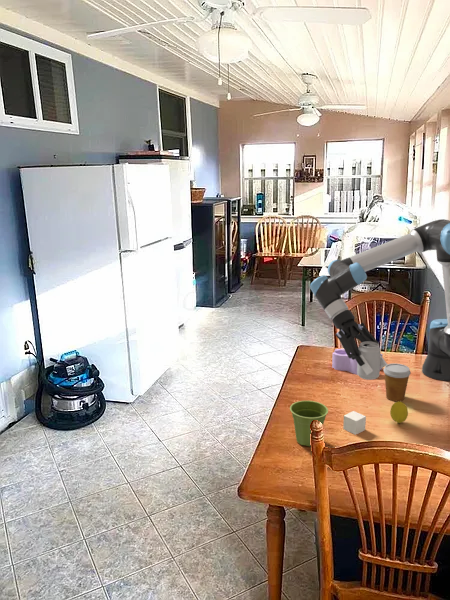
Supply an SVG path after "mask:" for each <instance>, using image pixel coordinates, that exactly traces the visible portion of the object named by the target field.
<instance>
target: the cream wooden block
mask: <svg viewBox="0 0 450 600" xmlns="http://www.w3.org/2000/svg"><path fill="white" fill-rule="evenodd" d="M366 417H367V416H366V415H365V414H364V415H363V414H362V413H359V412H357V411H356V410H352V411H350V412H348V413H347V414H345V415H343V426H342V428H343V430H344V431H347V432H349V433H351V434H353V435H355V436H356V434H357V435H359V434H360V433H362V432H364V431H366V420H367V418H366Z"/></svg>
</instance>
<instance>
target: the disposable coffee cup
mask: <svg viewBox="0 0 450 600" xmlns="http://www.w3.org/2000/svg"><path fill="white" fill-rule="evenodd" d="M382 369H383V373H384V381H385V394H386V399H388V400H389V401H392V402H399V401H401V402H403V401H404V400H405V397H406V393H407V392H406V391H407V386H408V381H409V377H410V375H411V373H412V372H411V370H410V367H409V366H407V365H406V364H401V363H395V362H394V363H387V365H386V366H384V367H383V368H382Z"/></svg>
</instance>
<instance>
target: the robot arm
mask: <svg viewBox="0 0 450 600" xmlns="http://www.w3.org/2000/svg"><path fill="white" fill-rule="evenodd" d="M427 251H428V252H429V251H436V261H437V263H439V264H441V268H442V269H441V270H442V278H443V286H444V287H443V288H444V297H445V309H446V318H436V319H432V321H431V322H430V325H429V333H428V334H429V335H428V347H427V349H428V350H427V354H426V355H427V356H426V358H425V360H424V362H423V364H422V367H421V373H422V374H423V375H425V376H426V377H428V378H431V379H434V380H437V381H439V380H440V381H450V219H437V220H433V221H430V222H428V223H425V224H423V225H419V226H417V227H414V228H412V229H411V230H410V231H409V233H407V234H404V235H402V236H400V237H397V238H395V239H392V240H389V241H387V242H384V243H381V244H380V245H377V246H374V247H371V248H370V249H367V250H364V251H361V252H360V253H357V254H354V255H351V256H349V257H346V258H344V259H334V260H332V261H331V262H330V263H329V264H328V267H327V273H328V275H329V276H330V277H328V276H327V275H325V274H324V275H321V276H318V277H317V278H314V280H313V281H312V282H311V283H310V284H309V287H310V288H309V289H310V290H311V292H312V293H313V295H314V298H316V300H317V301H318V303H319V305H321V307H322V309H323V311H324V312H325V314H326V315H327V316H328V319H330V320H331V323H332V324H333V326H334V327H335V328H336V329H337V330H339V331H337V332H336V333H335V337H336V338H337V339H338V341H339V342H340V344H341V346H342V347H343V348H342V349H344V350H345V352H346V354H347V355H348V357H349V358H352V360H354V359H356V361H357V363H358V364H359V365H360V366H361V367H362V369H363V370H364V372H365V373H366V375H368V374H369V373H371V372H372V371H373V370H372V368H371V367H370V365H369V364H368V362H367V361H366V359H365V358H364V357H363V355H360V353H359V350H358V347H359V346H358V344H357V342H356V340H358V341H360V343H362V342H366V341H370V342H375V343H378V344H379V345H380V343H379V341H378V340H377V339H376V338H375V336H373V334H372V333H371V332H370V331H369V330H368V328H367V327H366V325H365V323H364V322H361V323H357V322H356V321H355V315H354V314H353V312H352V311H351V309H349V306H348V305H347V304H346V302H345V301H344V299H343V297H342V296H343V295H344V294H346V293H348V292H349V291H351V290H352V289H354V288H356V287H357V286H360V285H361V284H362V283H364V282H365V281H366V280H368V279H367V278H368V275H367V272H368V271H371V270H373V269H376V268H378V267H381V266H384V265H386V264H389V263H391V262H394V261H396V260H399V259H402V258H404V257H406V256H410V255H412V254H415V253H419V254H421V253H424V252H427ZM350 353H351V354H350ZM381 354H382V352H381V353H380V368H382V369H384V368H385V366H386V365H387V364H388V362H386V360H385V359H384V357H383V355H381ZM359 355H360V356H359Z"/></svg>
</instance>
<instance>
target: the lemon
mask: <svg viewBox="0 0 450 600" xmlns="http://www.w3.org/2000/svg"><path fill="white" fill-rule="evenodd" d="M389 413H390V417H391V419H392V420H393V421H394V422H396V423H397V424H401V423H403V422H405V421H406V420H407V419H408V415H409V411H408V406H407V405H406V404H405V403H404V402H403V401H394V403H392V405H391V407H390V412H389Z"/></svg>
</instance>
